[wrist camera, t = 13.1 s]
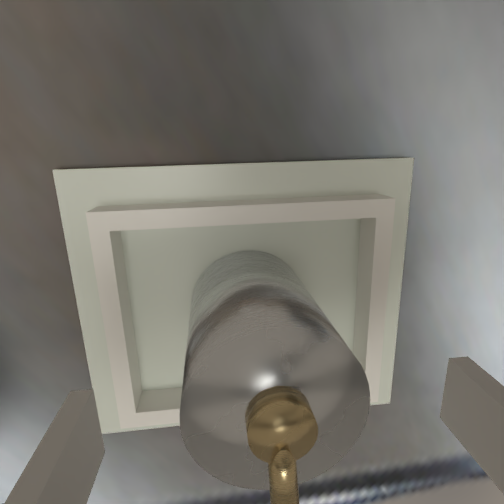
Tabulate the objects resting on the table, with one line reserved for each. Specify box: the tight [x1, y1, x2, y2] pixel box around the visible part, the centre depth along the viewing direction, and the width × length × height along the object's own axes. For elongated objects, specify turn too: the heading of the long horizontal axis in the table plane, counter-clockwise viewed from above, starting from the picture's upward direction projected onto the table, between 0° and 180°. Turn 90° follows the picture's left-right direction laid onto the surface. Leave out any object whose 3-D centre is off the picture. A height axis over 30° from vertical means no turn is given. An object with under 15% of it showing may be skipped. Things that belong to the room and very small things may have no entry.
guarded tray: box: [53, 158, 414, 434], centre depth 21 cm, size 20×17×3 cm
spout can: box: [179, 250, 370, 504], centre depth 16 cm, size 7×7×11 cm
